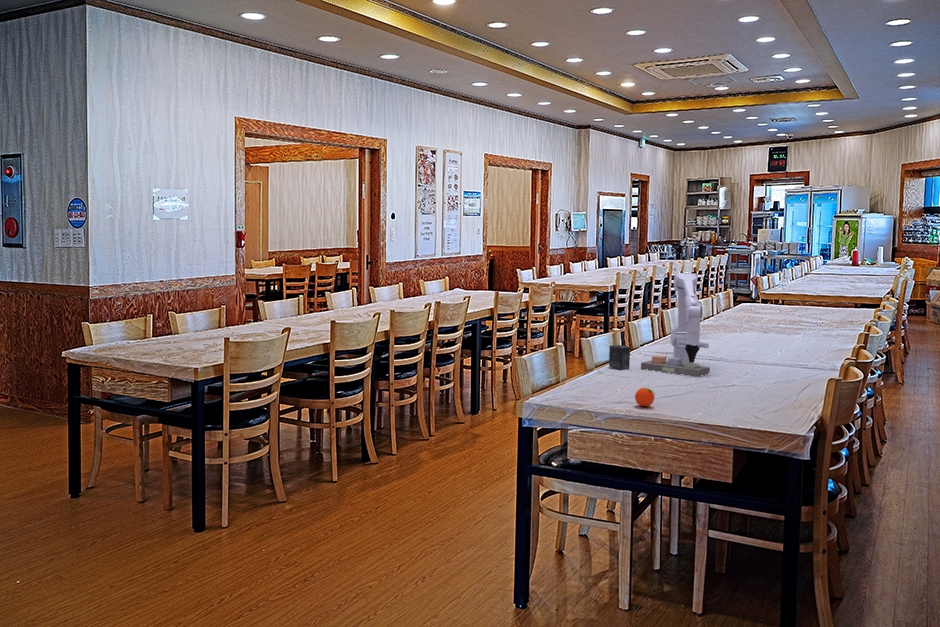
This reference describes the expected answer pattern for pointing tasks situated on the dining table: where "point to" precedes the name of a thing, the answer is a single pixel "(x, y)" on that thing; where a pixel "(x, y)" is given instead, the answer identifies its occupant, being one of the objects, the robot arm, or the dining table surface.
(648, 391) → the clementine
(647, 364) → the button panel
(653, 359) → the terracotta button
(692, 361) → the robot arm
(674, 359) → the slate button
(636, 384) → the dining table surface
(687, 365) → the sage button
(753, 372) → the dining table surface
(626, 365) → the box
